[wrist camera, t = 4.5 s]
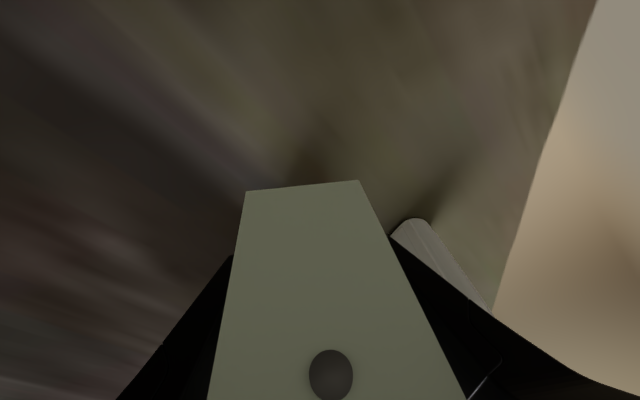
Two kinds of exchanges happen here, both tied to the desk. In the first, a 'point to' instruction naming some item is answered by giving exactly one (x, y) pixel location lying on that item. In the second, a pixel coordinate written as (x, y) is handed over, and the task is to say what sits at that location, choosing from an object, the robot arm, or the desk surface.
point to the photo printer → (435, 256)
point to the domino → (322, 306)
